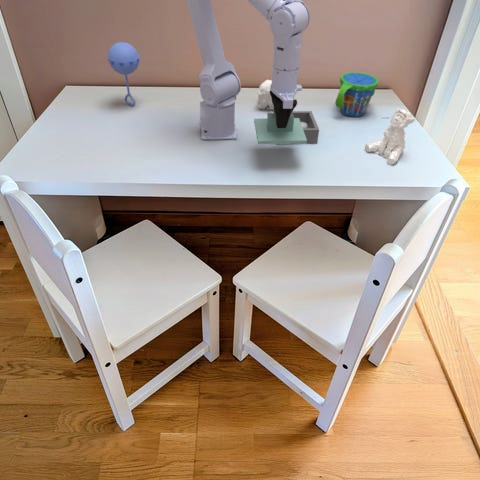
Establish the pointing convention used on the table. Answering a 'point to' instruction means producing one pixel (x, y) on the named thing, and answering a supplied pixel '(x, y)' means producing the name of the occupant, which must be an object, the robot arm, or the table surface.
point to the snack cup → (355, 93)
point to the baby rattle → (124, 62)
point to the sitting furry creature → (392, 137)
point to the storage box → (308, 125)
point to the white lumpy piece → (265, 95)
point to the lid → (279, 131)
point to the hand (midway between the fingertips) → (280, 124)
